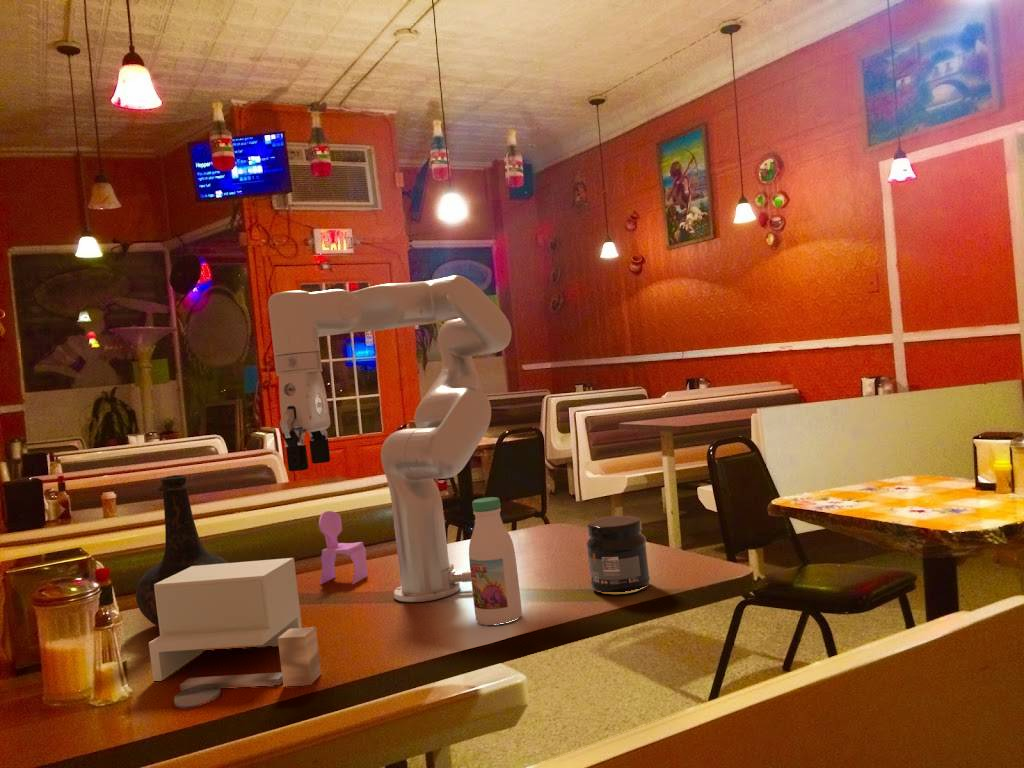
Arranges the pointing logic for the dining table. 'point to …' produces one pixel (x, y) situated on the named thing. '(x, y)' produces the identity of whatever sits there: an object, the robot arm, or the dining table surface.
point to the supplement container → (617, 554)
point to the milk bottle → (493, 566)
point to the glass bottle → (174, 545)
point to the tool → (295, 664)
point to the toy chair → (339, 549)
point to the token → (196, 695)
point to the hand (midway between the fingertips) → (310, 466)
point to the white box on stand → (222, 610)
